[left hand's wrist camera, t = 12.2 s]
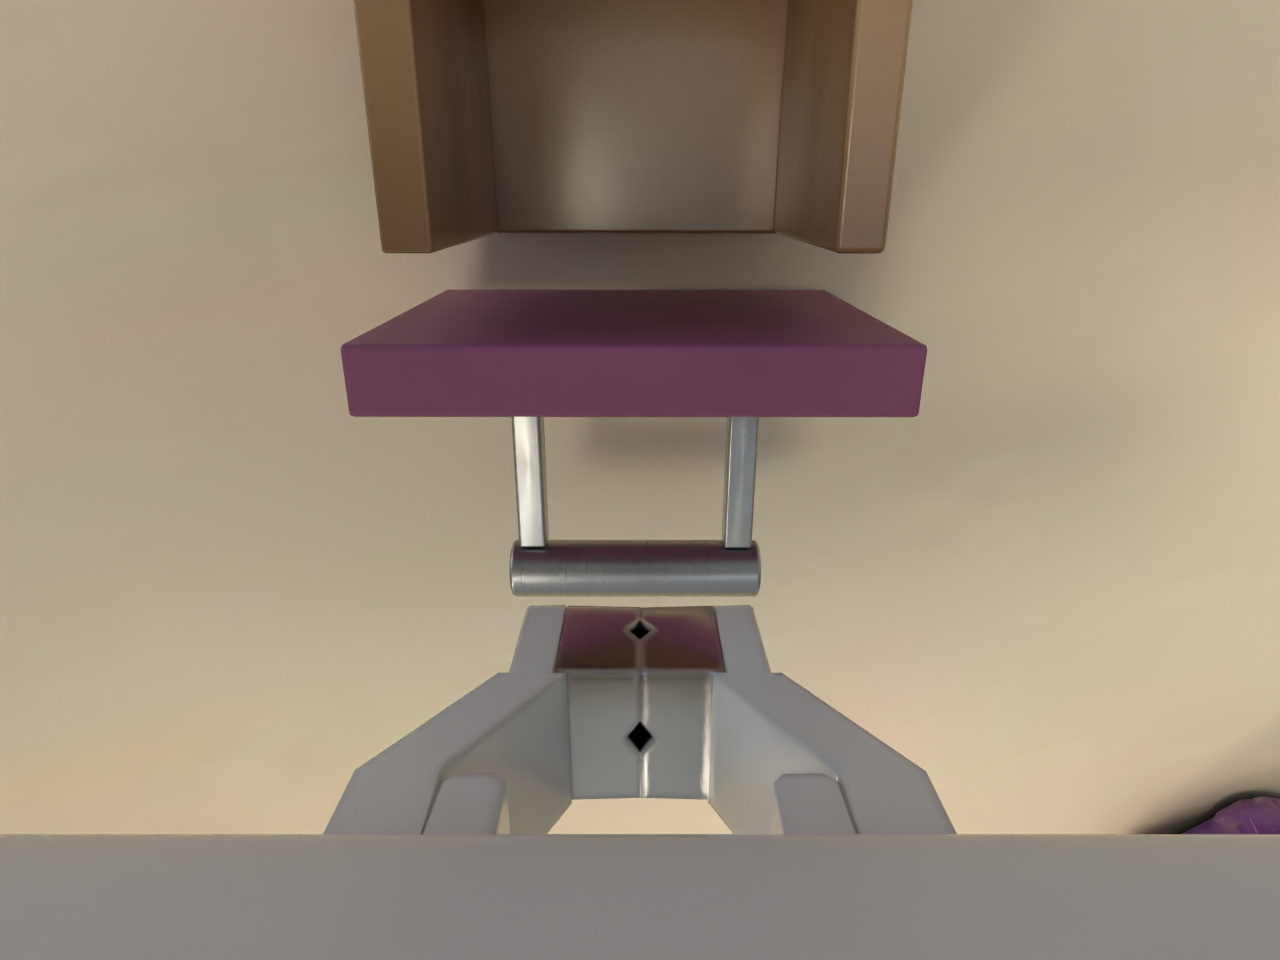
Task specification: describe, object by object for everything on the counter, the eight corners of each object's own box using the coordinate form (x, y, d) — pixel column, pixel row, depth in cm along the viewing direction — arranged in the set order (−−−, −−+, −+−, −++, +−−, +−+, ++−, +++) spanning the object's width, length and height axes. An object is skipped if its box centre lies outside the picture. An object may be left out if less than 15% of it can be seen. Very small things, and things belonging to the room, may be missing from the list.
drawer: (806, 525, 21) (884, 682, 14) (466, 525, 21) (385, 682, 14) (915, -752, 13) (1219, -1792, 6) (354, -753, 13) (39, -1796, 6)
